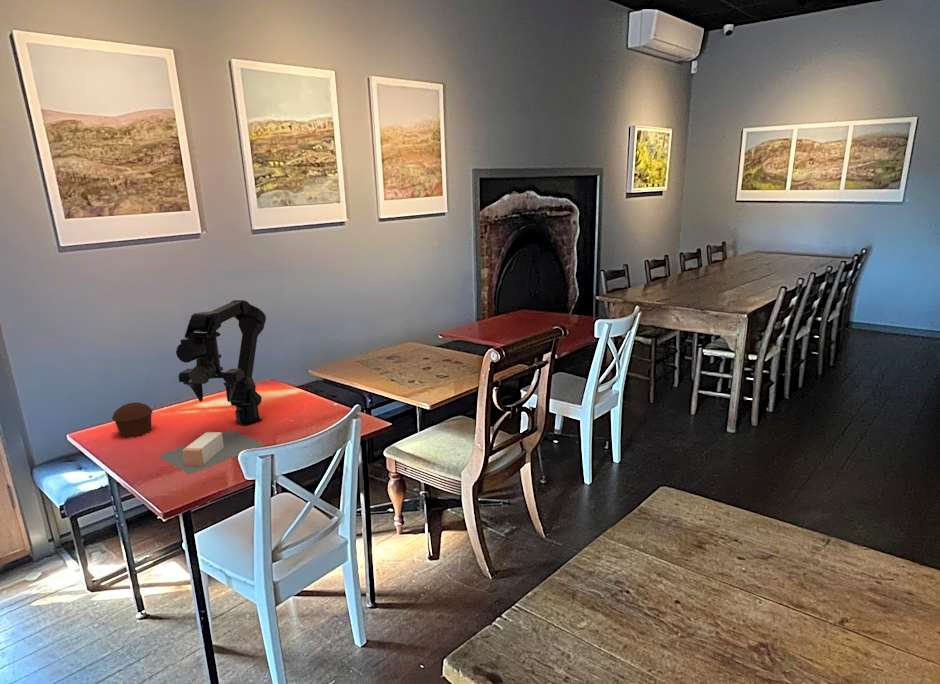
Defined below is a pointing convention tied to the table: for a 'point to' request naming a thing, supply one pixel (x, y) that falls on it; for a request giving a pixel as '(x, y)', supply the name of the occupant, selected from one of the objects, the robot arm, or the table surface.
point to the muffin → (133, 419)
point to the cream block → (203, 449)
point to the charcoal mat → (231, 449)
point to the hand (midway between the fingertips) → (215, 401)
